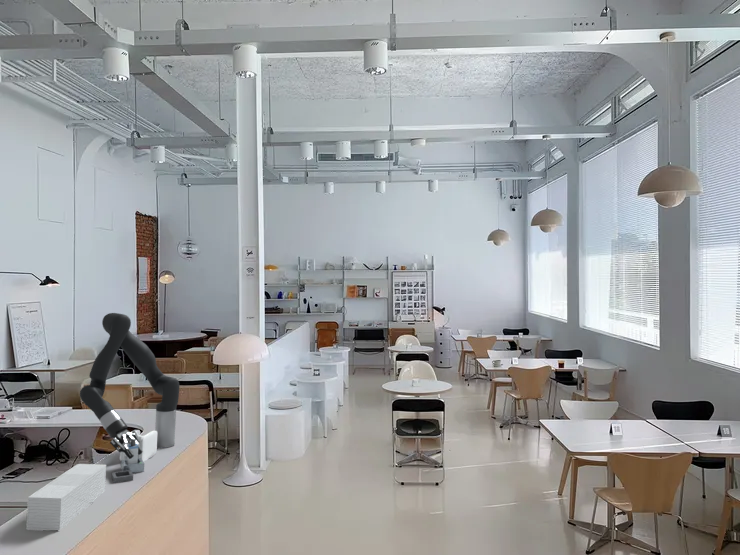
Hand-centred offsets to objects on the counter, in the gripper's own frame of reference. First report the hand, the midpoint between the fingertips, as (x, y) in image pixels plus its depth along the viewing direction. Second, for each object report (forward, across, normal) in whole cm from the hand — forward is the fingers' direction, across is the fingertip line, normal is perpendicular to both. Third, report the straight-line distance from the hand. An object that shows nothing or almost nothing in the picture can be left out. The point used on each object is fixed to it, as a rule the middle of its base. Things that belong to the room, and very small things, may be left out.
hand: (136, 455), depth 232 cm
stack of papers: (+7, -39, +4) cm, 40 cm away
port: (+4, 0, +6) cm, 7 cm away
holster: (+6, -10, +4) cm, 12 cm away
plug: (+2, 0, +4) cm, 5 cm away
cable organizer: (-1, +14, +12) cm, 18 cm away
